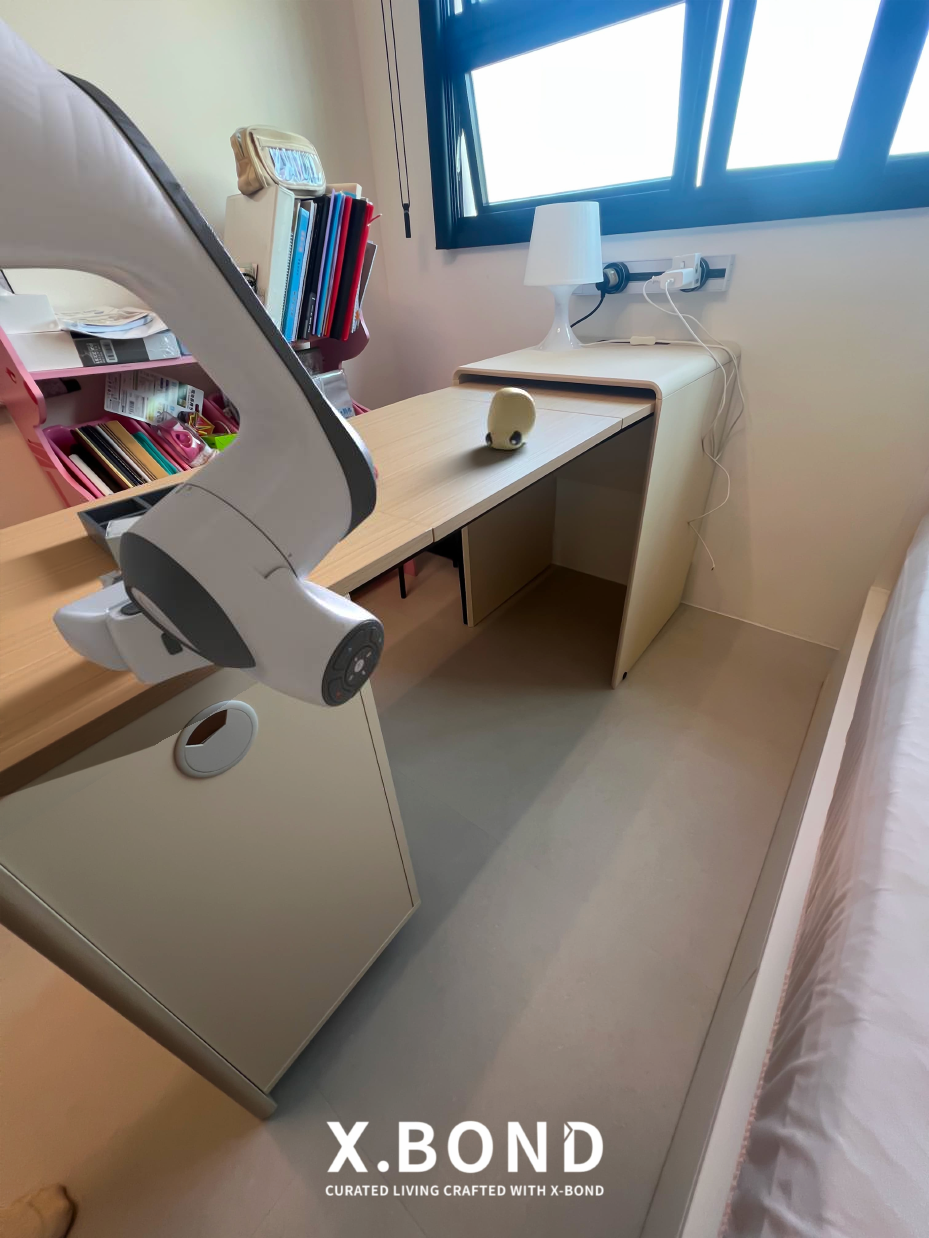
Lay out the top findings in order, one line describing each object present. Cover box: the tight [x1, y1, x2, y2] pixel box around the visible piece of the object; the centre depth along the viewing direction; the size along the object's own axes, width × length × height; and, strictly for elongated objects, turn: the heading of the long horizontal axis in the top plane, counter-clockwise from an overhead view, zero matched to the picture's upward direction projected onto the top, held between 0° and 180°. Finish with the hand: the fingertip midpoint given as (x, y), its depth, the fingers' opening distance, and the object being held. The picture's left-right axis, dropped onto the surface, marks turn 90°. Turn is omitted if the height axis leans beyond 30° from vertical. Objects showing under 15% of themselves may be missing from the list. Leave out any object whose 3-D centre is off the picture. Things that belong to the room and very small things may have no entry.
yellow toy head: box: [484, 387, 537, 451], centre depth 99 cm, size 10×12×11 cm
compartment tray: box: [76, 481, 185, 562], centre depth 74 cm, size 15×15×4 cm
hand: (145, 564), depth 51 cm, fingers closed on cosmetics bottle, 6 cm apart
